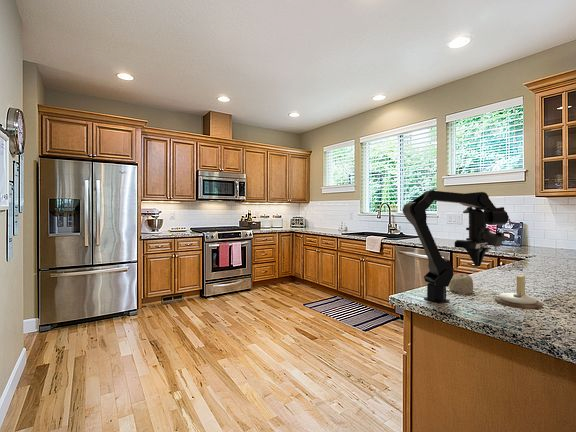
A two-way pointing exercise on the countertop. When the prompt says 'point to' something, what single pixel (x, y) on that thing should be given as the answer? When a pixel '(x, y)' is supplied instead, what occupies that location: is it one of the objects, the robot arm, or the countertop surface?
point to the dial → (519, 294)
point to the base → (527, 306)
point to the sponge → (461, 283)
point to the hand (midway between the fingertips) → (477, 265)
